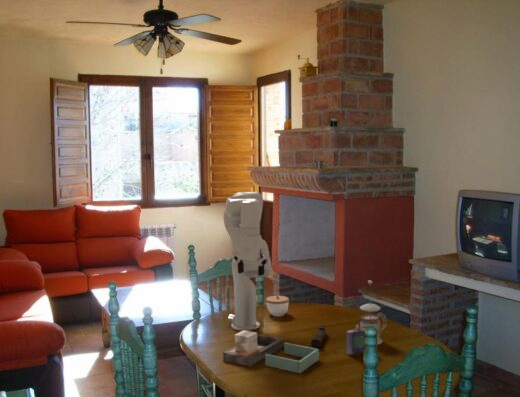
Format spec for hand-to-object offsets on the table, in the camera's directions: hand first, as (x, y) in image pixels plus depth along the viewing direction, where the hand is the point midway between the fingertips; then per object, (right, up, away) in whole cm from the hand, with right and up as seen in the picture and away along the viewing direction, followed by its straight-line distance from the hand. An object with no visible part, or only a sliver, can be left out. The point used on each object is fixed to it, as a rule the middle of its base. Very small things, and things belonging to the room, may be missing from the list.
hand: (251, 274), depth 219 cm
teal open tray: (+15, -30, -19) cm, 38 cm away
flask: (+41, -29, -10) cm, 51 cm away
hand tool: (+27, -28, +4) cm, 40 cm away
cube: (-2, -26, -14) cm, 30 cm away
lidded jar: (+12, -25, +41) cm, 50 cm away
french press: (+49, -28, +2) cm, 56 cm away
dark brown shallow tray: (+1, -29, -9) cm, 31 cm away
